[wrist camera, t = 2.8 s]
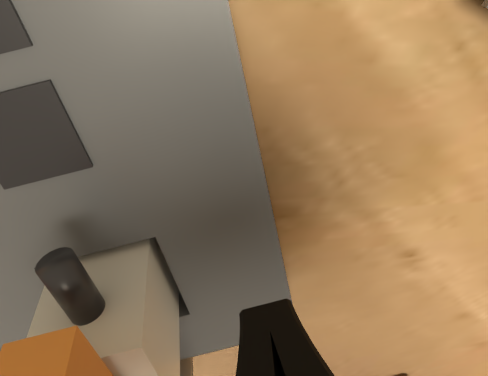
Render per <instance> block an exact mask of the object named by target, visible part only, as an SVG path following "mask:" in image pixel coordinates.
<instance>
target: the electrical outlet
mask: <svg viewBox="0 0 488 376" xmlns="http://www.w3.org/2000/svg"><path fill="white" fill-rule="evenodd" d="M481 6H483V7H485V8H486V9H488V0H484V1H483V3H482V5H481Z"/></svg>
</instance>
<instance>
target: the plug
mask: <svg viewBox="0 0 488 376" xmlns="http://www.w3.org/2000/svg"><path fill="white" fill-rule="evenodd" d="M35 273H36V274H37V275H38V277H39V278H40V280H41V281H42V282H43V284H44V288H43V291H42V294H41V297H40V300H39V303H38V305H37V308H36V311H35V314H34V317H33V320H32V323H31V326H30V329H29V331H28V334H27V337H26V338H29V337H33V336H37V335H41V334H45V333H49V332H53V331H57V330H61V329H65V328H69V327H72V326H76V325H77V326H78V328H79V329H80V330H81V332H82V333H83V335H84V336H85V337H86V339H87V340H88V341H89V343H90V344H91V346H92V347H93V348H94V350H95V351H96V352H97V354H98V355H99V356H100V358H101V359H102V361H103V362H104V363H105V365H106V366H107V367H108V369H109V370H110V372H111V373H112V374H113V376H180V338H179V288H178V286H177V284H176V282H175V280H174V277H173V275H172V273H171V271H170V269H169V266H168V264H167V262H166V260H165V257H164V255H163V253H162V251H161V249H160V246H159V244H158V242H157V240H156V237H154V238H150V239H146V240H142V241H138V242H134V243H130V244H126V245H122V246H118V247H114V248H110V249H106V250H102V251H98V252H95V253H91V254H87V255H83V256H79V257H77V255H76V254H75V252H74V251H73V249H71V248H69V247H62V248H58V249H55V250H53V251H51V252H49V253H47V254H46V255H44V256H43V257H42V258H41V259H40V260H39V261H38V263H37V264H36V267H35Z"/></svg>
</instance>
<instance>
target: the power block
mask: <svg viewBox="0 0 488 376" xmlns="http://www.w3.org/2000/svg"><path fill="white" fill-rule="evenodd" d="M154 237H156V240H157V242H158V244H159V246H160V249H161V251H162V253H163V255H164V257H165V260H166V262H167V264H168V266H169V269H170V271H171V273H172V275H173V277H174V280H175V282H176V284H177V286H178V288H179V338H180V360H182V359H186V358H190V357H194V356H198V355H202V354H206V353H210V352H214V351H218V350H222V349H226V348H230V347H234V346H237V345H239V337H240V318H239V313H240V312H241V311H242V310H243V309H247V308H251V307H255V306H259V305H263V304H266V303H270V302H274V301H278V300H282V299H289V300H291V295H290V291H289V286H288V281H287V277H286V272H285V267H284V262H283V258H282V253H281V248H280V243H279V239H278V234H277V229H276V225H275V220H274V215H273V210H272V206H271V201H270V196H269V191H268V187H267V182H266V177H265V173H264V168H263V163H262V158H261V154H260V149H259V144H258V140H257V135H256V130H255V125H254V121H253V116H252V111H251V106H250V102H249V97H248V92H247V88H246V83H245V78H244V73H243V69H242V64H241V59H240V55H239V50H238V45H237V40H236V36H235V31H234V26H233V21H232V17H231V12H230V7H229V3H228V0H0V351H1V348H2V346H3V344H6V343H9V342H13V341H17V340H21V339H25V338H26V337H27V334H28V331H29V329H30V326H31V323H32V320H33V317H34V314H35V311H36V308H37V305H38V303H39V300H40V297H41V294H42V291H43V288H44V284H43V282H42V281H41V280H40V278H39V277H38V275H37V274H36V273H35V267H36V264H37V263H38V261H39V260H40V259H41V258H42V257H43V256H44V255H46V254H47V253H49V252H51V251H53V250H55V249H58V248H62V247H69V248H71V249H73V251H74V252H75V254H76V255H77V257H79V256H83V255H87V254H91V253H95V252H98V251H102V250H106V249H110V248H114V247H118V246H122V245H126V244H130V243H134V242H138V241H142V240H146V239H150V238H154ZM291 302H292V300H291Z"/></svg>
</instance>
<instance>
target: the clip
mask: <svg viewBox="0 0 488 376" xmlns="http://www.w3.org/2000/svg"><path fill="white" fill-rule="evenodd" d="M0 376H113V374H112V373H111V372H110V370H109V369H108V367H107V366H106V365H105V363H104V362H103V361H102V359H101V358H100V356H99V355H98V354H97V352H96V351H95V350H94V348H93V347H92V346H91V344H90V343H89V341H88V340H87V339H86V337H85V336H84V335H83V333H82V332H81V330H80V329H79V328H78V326H77V325H76V326H72V327H69V328H65V329H61V330H57V331H53V332H49V333H45V334H41V335H37V336H33V337H29V338H25V339H21V340H17V341H13V342H9V343H6V344H3V346H2V348H1V351H0ZM180 376H193V359H192V357H190V358H186V359H182V360H180Z"/></svg>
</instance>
